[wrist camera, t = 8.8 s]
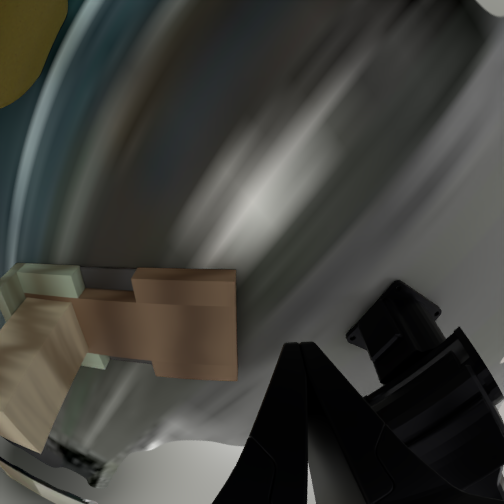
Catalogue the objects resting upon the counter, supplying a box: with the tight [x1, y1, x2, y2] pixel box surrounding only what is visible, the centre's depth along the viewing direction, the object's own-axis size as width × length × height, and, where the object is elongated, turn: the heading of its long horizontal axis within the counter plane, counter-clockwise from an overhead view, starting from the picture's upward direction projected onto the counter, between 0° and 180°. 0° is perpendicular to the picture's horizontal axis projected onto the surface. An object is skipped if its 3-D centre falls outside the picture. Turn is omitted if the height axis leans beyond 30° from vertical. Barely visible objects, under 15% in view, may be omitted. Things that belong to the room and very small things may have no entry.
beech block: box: [0, 297, 89, 453], centre depth 17 cm, size 5×5×11 cm
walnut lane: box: [0, 263, 238, 381], centre depth 22 cm, size 19×10×4 cm, turn 89°
